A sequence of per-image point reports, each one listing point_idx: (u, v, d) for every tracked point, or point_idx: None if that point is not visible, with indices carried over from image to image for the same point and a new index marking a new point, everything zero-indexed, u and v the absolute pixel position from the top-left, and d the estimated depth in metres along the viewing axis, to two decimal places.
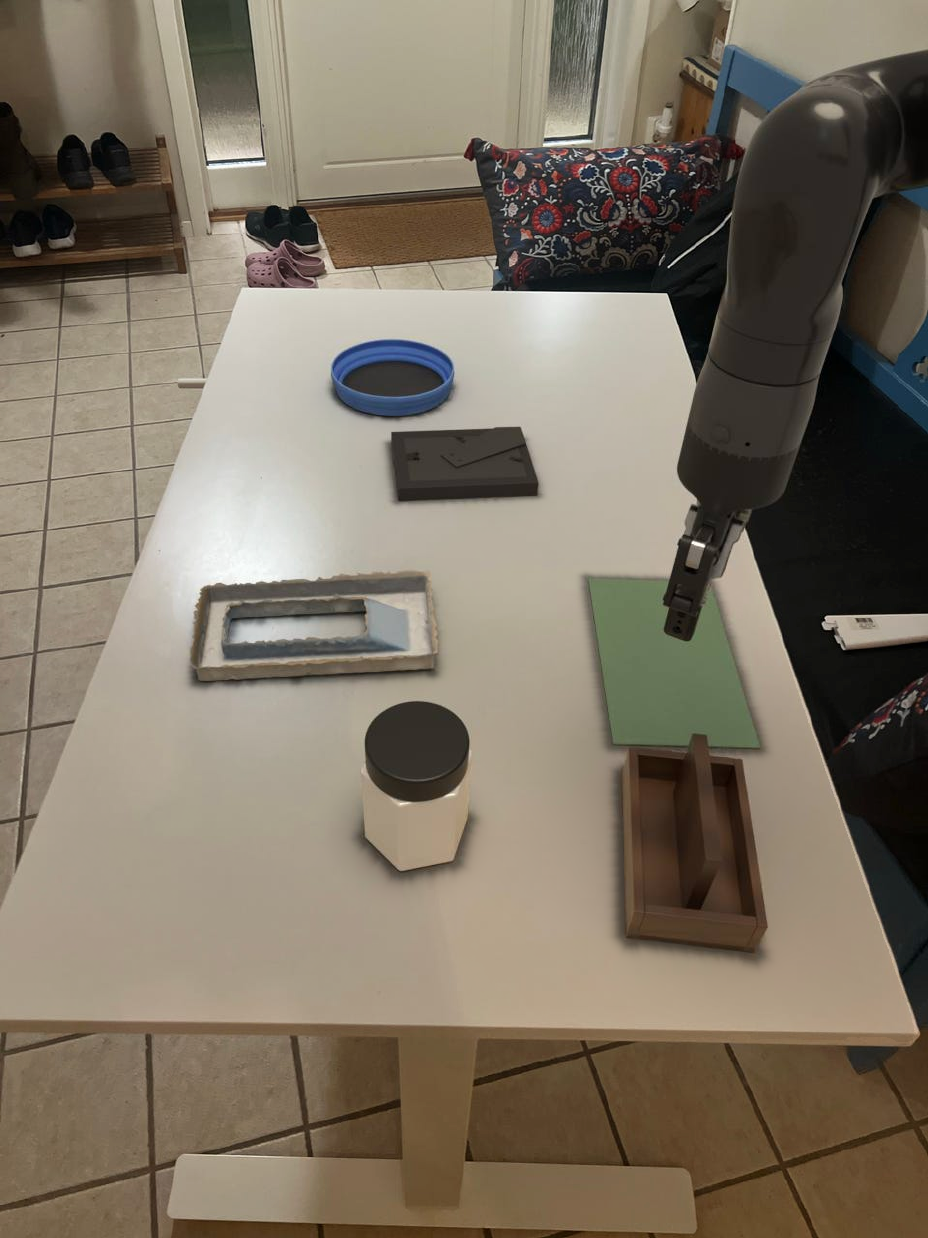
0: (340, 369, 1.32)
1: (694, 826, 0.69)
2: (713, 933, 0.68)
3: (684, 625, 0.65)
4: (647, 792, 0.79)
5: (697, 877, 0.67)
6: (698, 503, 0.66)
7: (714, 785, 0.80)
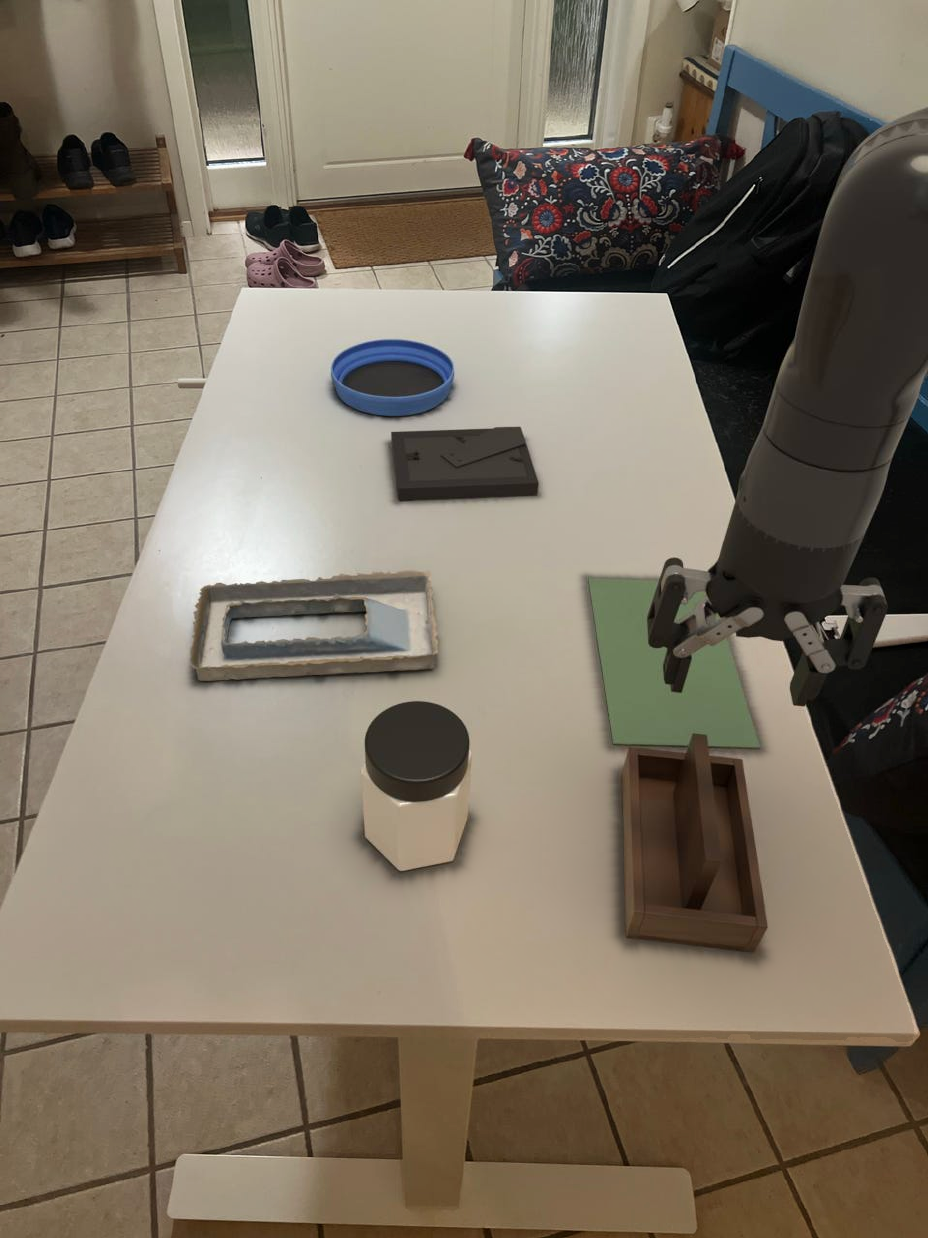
0: (340, 369, 1.32)
1: (694, 826, 0.69)
2: (713, 933, 0.68)
3: (666, 666, 0.62)
4: (647, 792, 0.79)
5: (697, 877, 0.67)
6: None
7: (714, 785, 0.80)
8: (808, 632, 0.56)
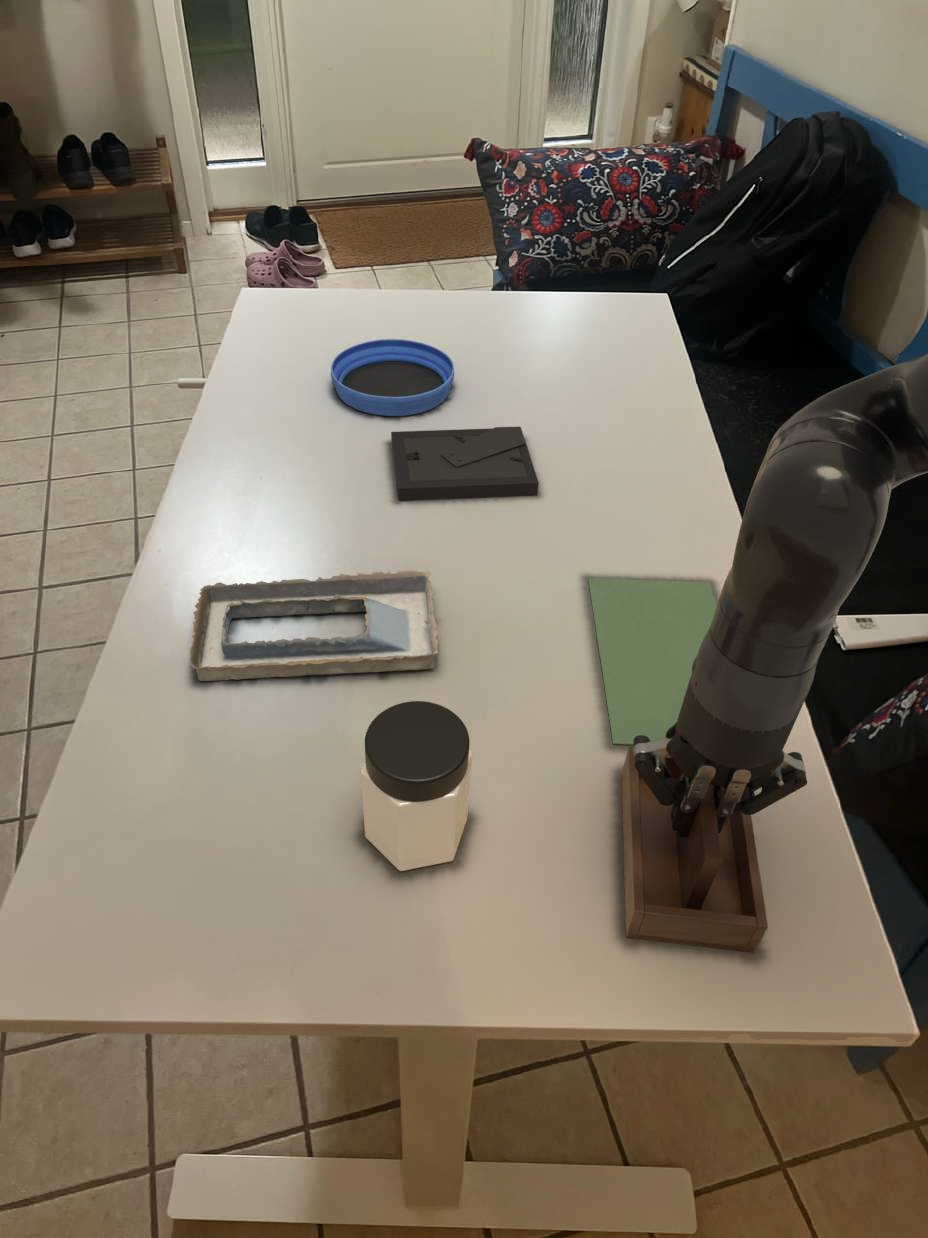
0: (340, 369, 1.32)
1: (694, 826, 0.69)
2: (713, 933, 0.68)
3: (673, 816, 0.71)
4: (647, 792, 0.79)
5: (697, 877, 0.67)
6: None
7: None
8: (740, 787, 0.66)
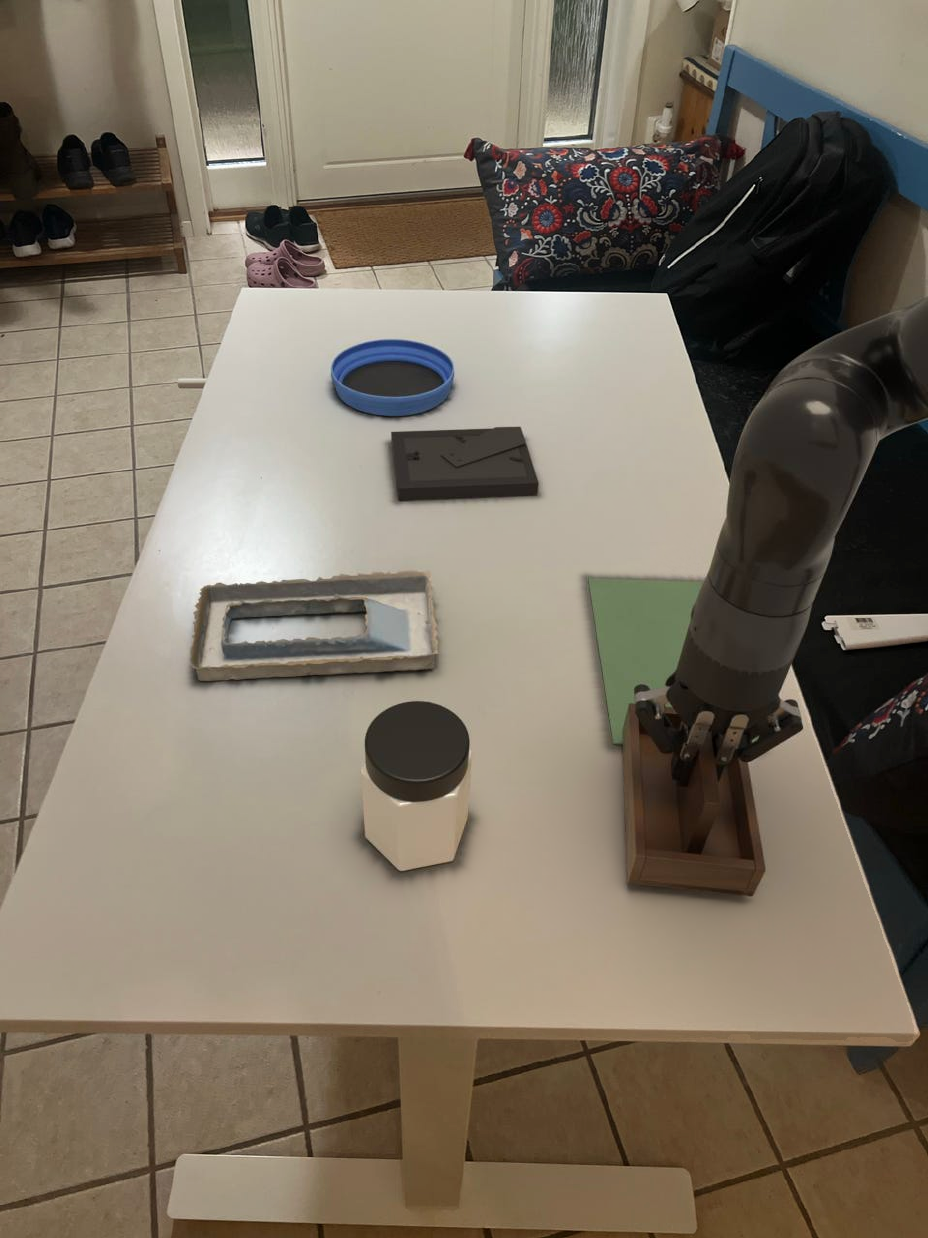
0: (340, 369, 1.32)
1: (693, 774, 0.71)
2: (712, 877, 0.70)
3: (673, 765, 0.73)
4: (647, 747, 0.81)
5: (697, 822, 0.69)
6: None
7: None
8: (738, 733, 0.67)
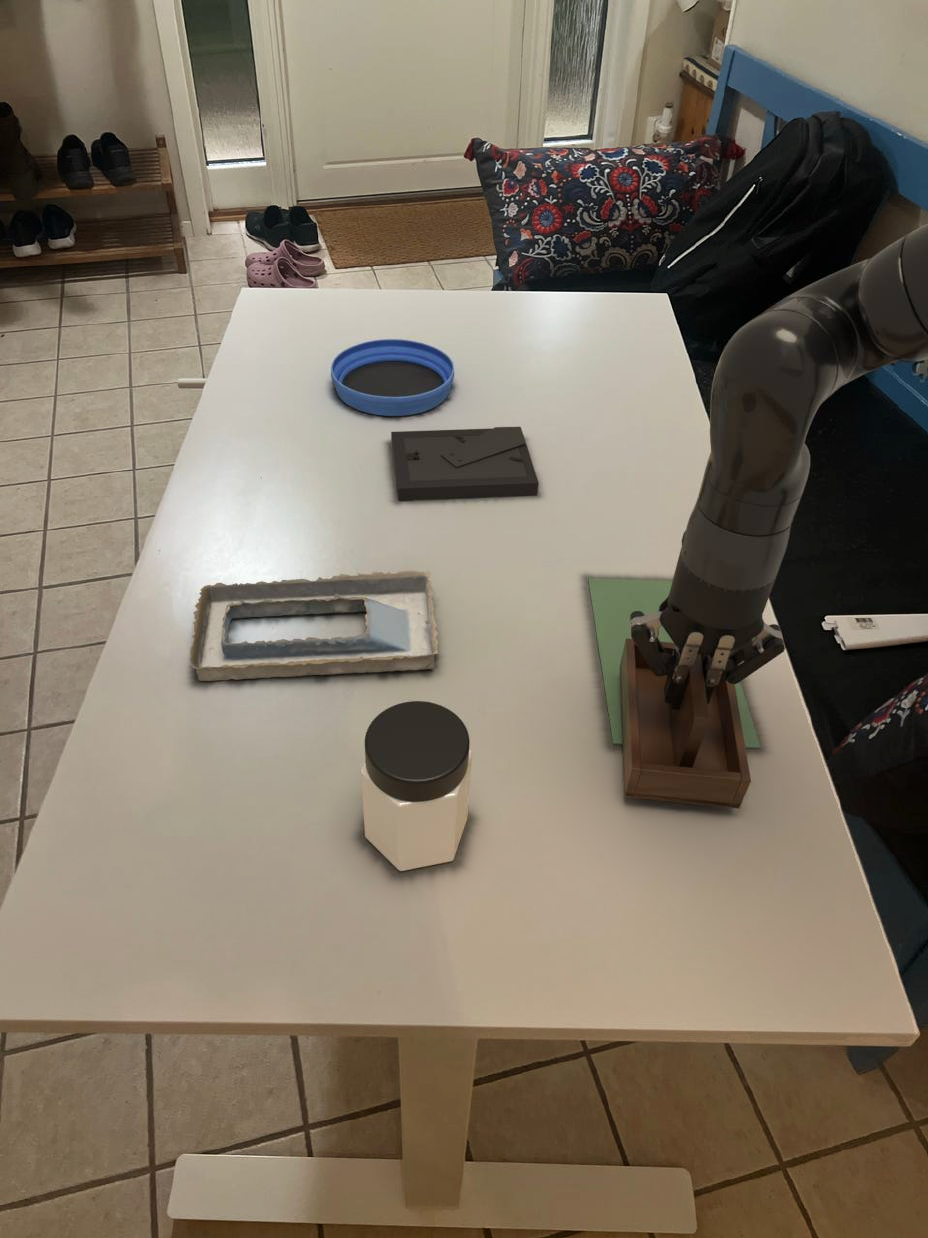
0: (340, 369, 1.32)
1: (685, 696, 0.77)
2: (702, 789, 0.76)
3: (666, 689, 0.79)
4: (643, 679, 0.87)
5: (688, 737, 0.75)
6: None
7: None
8: (725, 654, 0.74)
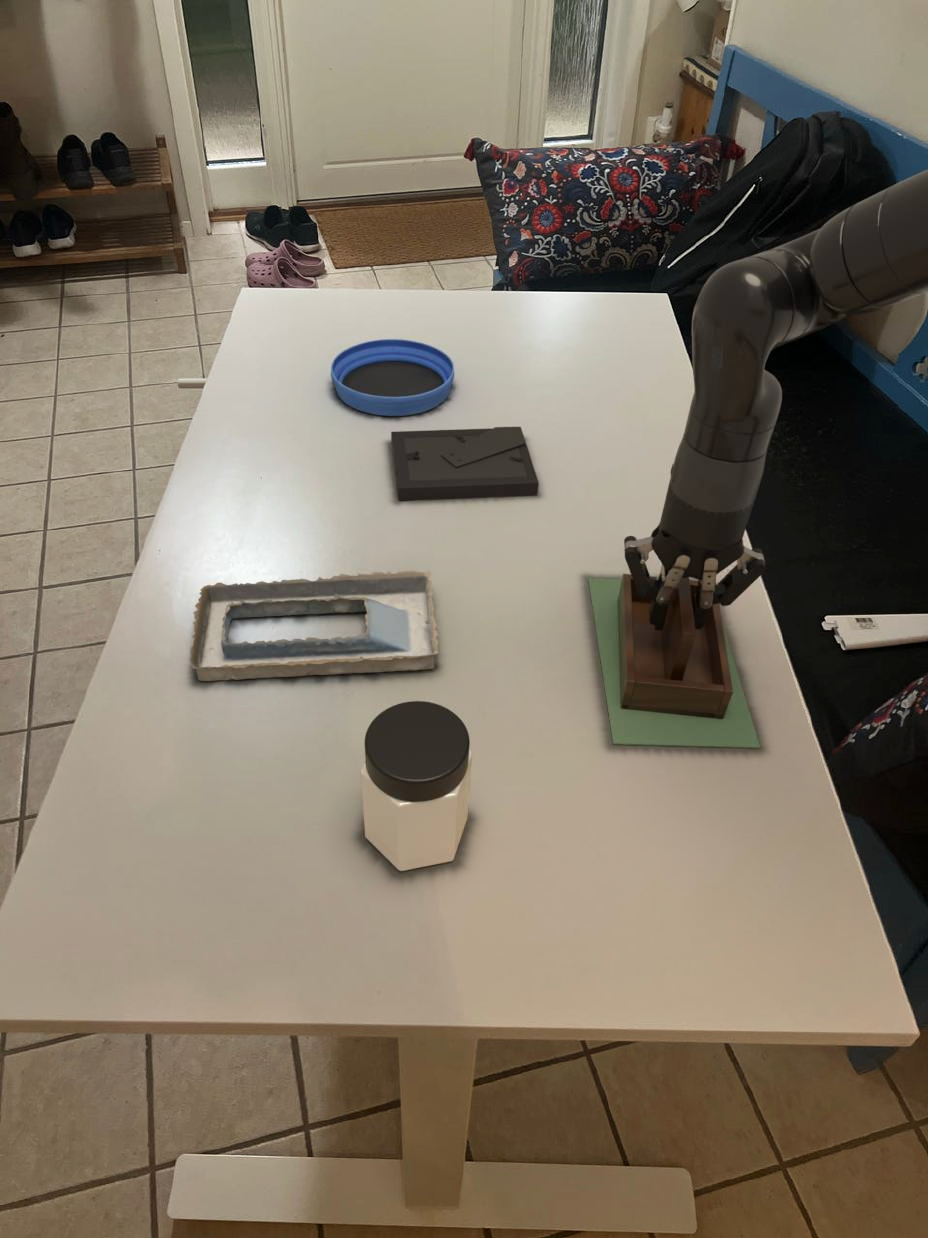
0: (340, 369, 1.32)
1: (675, 618, 0.87)
2: (690, 700, 0.85)
3: (651, 611, 0.88)
4: (638, 611, 0.96)
5: (677, 652, 0.84)
6: None
7: None
8: (712, 575, 0.83)
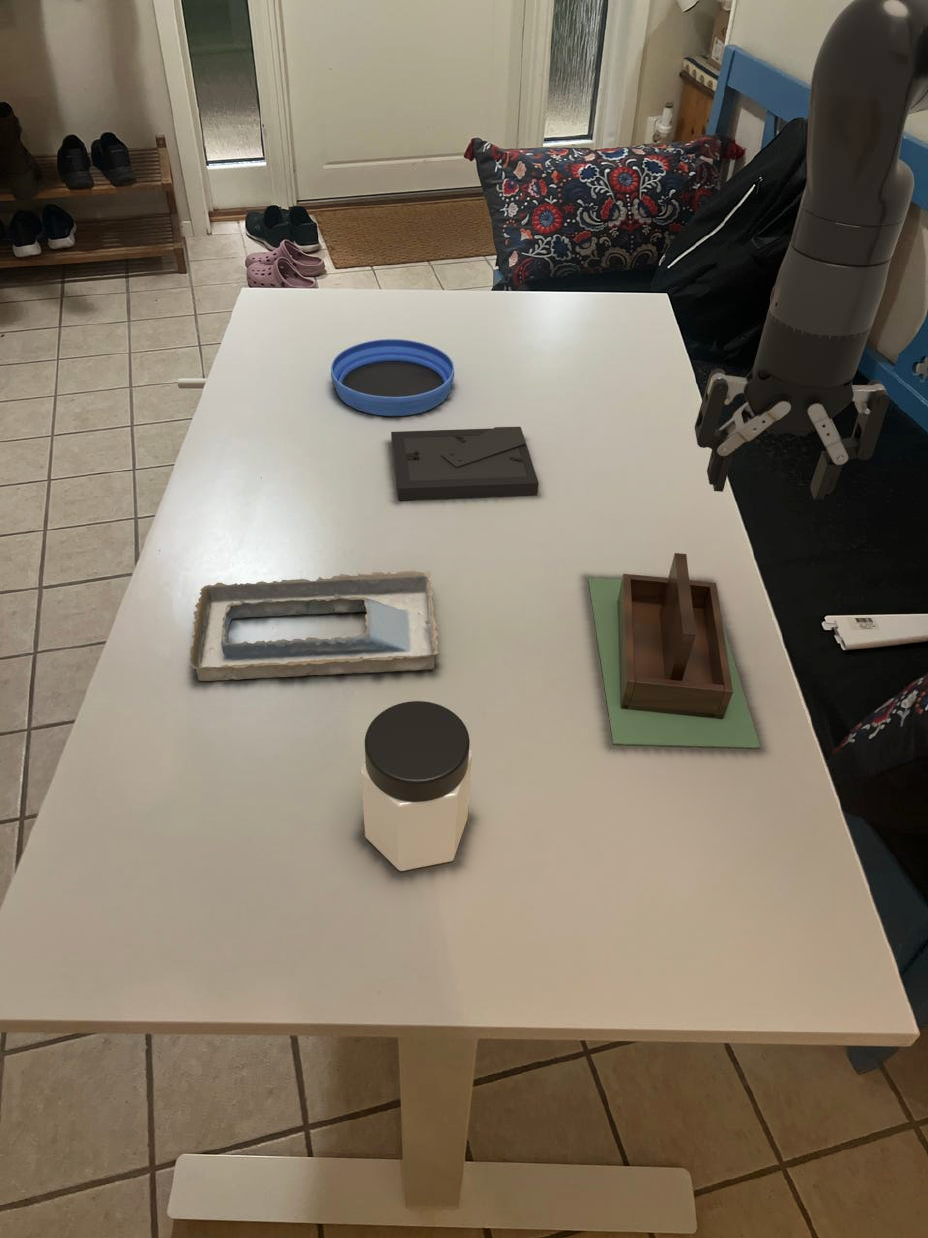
0: (340, 369, 1.32)
1: (675, 618, 0.87)
2: (690, 700, 0.85)
3: (710, 467, 0.76)
4: (638, 611, 0.96)
5: (677, 652, 0.84)
6: None
7: (693, 607, 0.97)
8: (826, 423, 0.71)
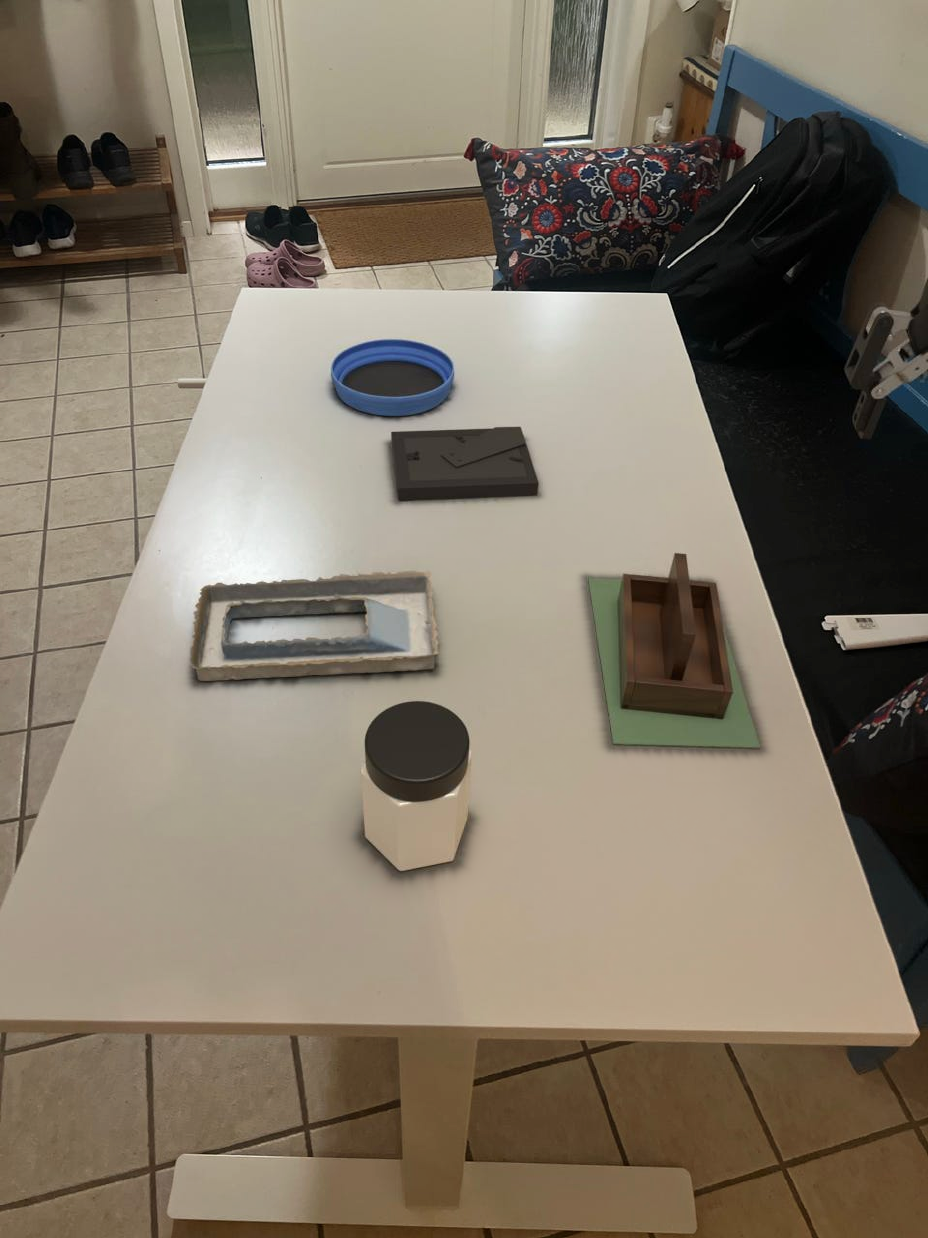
0: (340, 369, 1.32)
1: (675, 618, 0.87)
2: (690, 700, 0.85)
3: (859, 412, 0.71)
4: (638, 611, 0.96)
5: (677, 652, 0.84)
6: None
7: (693, 607, 0.97)
8: None
